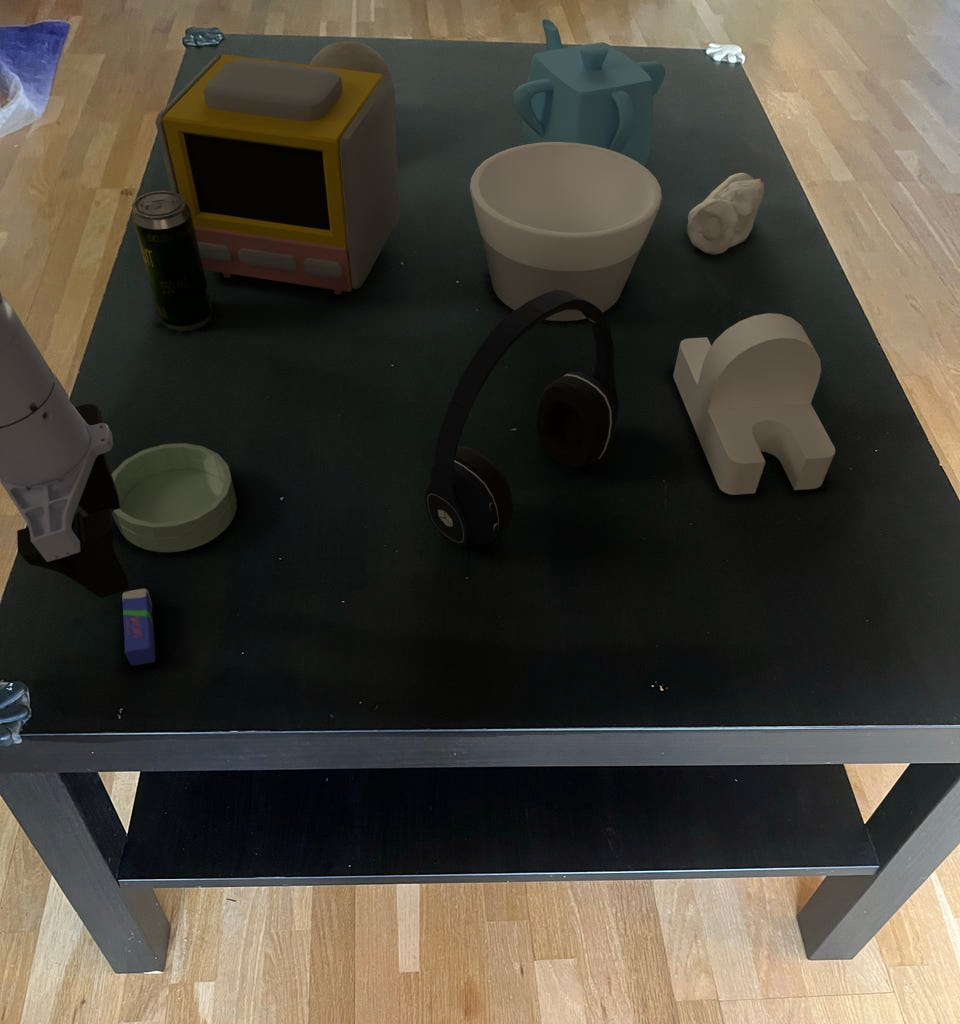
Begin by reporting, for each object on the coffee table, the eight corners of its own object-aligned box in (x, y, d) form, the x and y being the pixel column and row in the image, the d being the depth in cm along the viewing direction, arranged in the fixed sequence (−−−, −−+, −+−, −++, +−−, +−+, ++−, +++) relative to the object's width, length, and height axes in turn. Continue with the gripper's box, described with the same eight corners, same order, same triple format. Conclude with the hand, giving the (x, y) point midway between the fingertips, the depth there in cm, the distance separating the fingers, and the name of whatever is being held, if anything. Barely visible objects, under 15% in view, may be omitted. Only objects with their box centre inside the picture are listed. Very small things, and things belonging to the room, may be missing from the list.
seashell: (388, 174, 132) (344, 56, 127) (441, 141, 121) (394, 10, 115) (296, 206, 125) (245, 84, 120) (343, 174, 114) (289, 37, 109)
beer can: (204, 297, 101) (179, 184, 91) (220, 324, 98) (195, 211, 88) (154, 310, 99) (122, 196, 90) (168, 338, 96) (137, 223, 87)
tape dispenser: (722, 495, 84) (752, 395, 76) (670, 370, 95) (691, 270, 86) (826, 487, 85) (868, 387, 76) (763, 364, 96) (793, 264, 87)
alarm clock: (185, 284, 102) (141, 101, 88) (241, 211, 112) (209, 35, 97) (362, 312, 100) (347, 128, 85) (403, 234, 109) (396, 58, 95)
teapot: (666, 154, 123) (687, 37, 112) (620, 210, 114) (638, 89, 103) (537, 122, 128) (545, 7, 117) (482, 174, 118) (486, 55, 108)
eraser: (154, 603, 75) (147, 586, 73) (157, 663, 71) (150, 647, 70) (128, 607, 75) (121, 590, 73) (130, 668, 71) (122, 651, 70)
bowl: (524, 220, 112) (530, 124, 104) (674, 270, 106) (693, 174, 98) (433, 297, 102) (432, 198, 93) (594, 358, 96) (607, 258, 87)
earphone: (472, 574, 78) (477, 389, 63) (413, 531, 80) (404, 345, 66) (624, 457, 87) (658, 271, 72) (566, 422, 90) (587, 237, 75)
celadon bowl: (121, 563, 77) (110, 538, 75) (112, 481, 83) (102, 454, 81) (245, 539, 79) (238, 513, 77) (228, 460, 85) (221, 433, 83)
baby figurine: (733, 204, 116) (786, 159, 109) (733, 289, 113) (788, 249, 105) (677, 175, 112) (728, 126, 105) (676, 262, 109) (729, 218, 102)
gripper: (81, 459, 50) (179, 610, 61) (68, 301, 58) (156, 460, 70) (-52, 498, 50) (71, 644, 61) (-47, 334, 58) (61, 489, 69)
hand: (109, 548), depth 65 cm, fingers open, 7 cm apart
